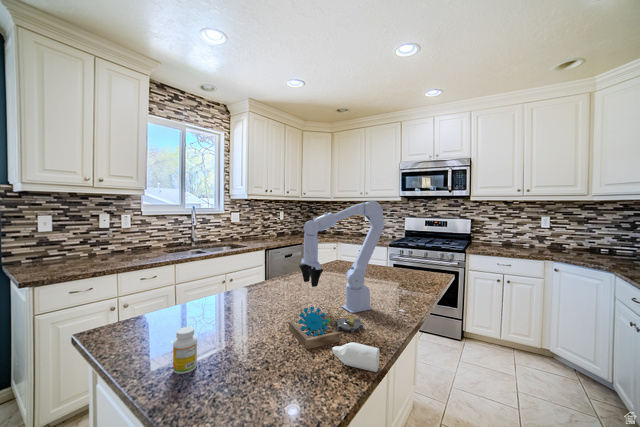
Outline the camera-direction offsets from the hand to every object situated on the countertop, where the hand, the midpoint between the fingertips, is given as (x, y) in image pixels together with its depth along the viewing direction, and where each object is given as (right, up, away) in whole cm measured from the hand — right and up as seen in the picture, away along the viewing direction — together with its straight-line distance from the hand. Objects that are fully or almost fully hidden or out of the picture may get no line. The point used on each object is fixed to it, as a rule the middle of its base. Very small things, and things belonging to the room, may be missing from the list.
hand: (310, 283), depth 112 cm
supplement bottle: (-30, -11, -42) cm, 53 cm away
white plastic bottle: (+13, -11, -40) cm, 43 cm away
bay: (+2, -10, -23) cm, 26 cm away
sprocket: (+14, -10, -17) cm, 24 cm away
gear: (+2, -11, -21) cm, 24 cm away
